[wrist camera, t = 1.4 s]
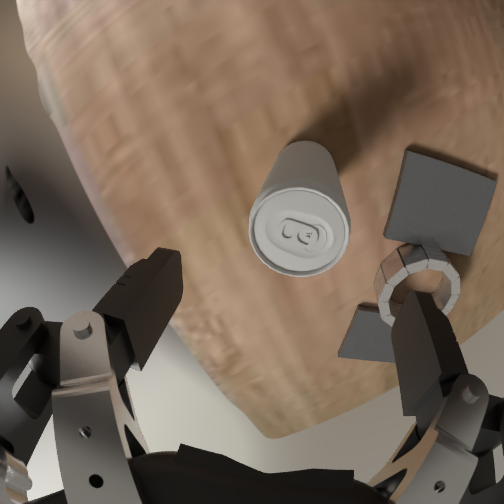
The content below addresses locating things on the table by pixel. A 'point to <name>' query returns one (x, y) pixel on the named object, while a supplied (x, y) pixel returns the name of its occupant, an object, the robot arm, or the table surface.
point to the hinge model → (421, 244)
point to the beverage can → (300, 213)
